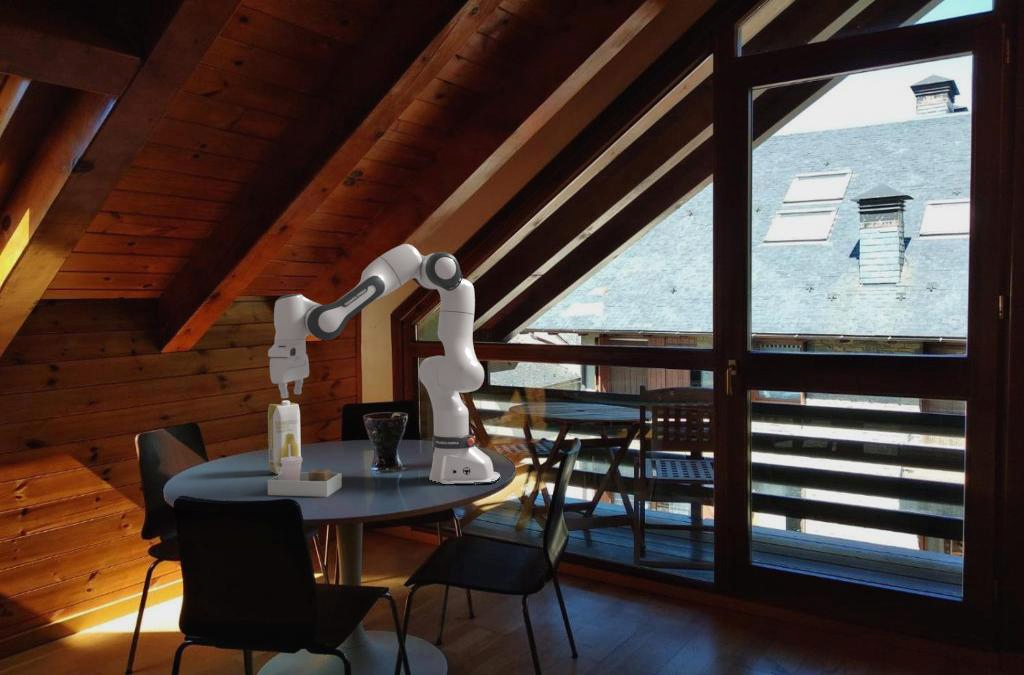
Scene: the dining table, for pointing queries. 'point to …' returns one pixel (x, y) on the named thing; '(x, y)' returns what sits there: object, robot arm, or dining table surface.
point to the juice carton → (283, 433)
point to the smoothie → (291, 467)
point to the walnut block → (319, 475)
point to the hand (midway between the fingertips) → (291, 395)
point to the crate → (304, 486)
